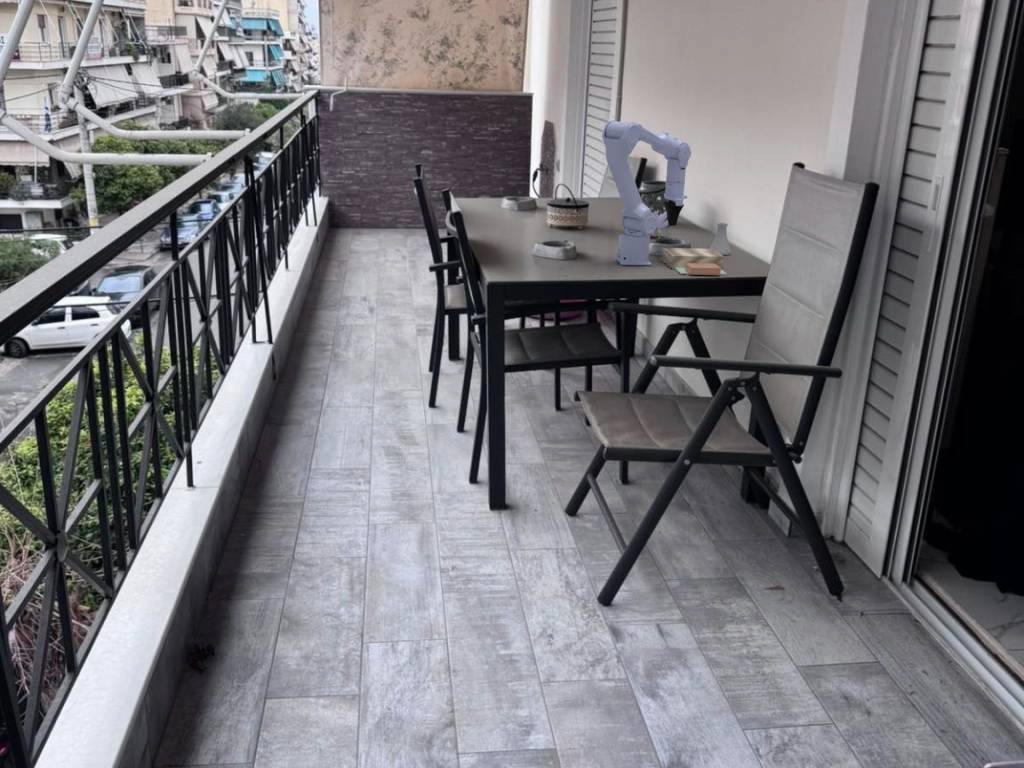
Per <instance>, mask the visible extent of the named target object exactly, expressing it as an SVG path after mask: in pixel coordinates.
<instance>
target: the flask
mask: <svg viewBox="0 0 1024 768" xmlns="http://www.w3.org/2000/svg"><path fill="white" fill-rule="evenodd" d="M716 223H717V222H716ZM716 225H717V230H716V233H715V236H714V238H713V241H712V243H711V244H710V247H709V248H708V249H714V250H716V251H717V252H718V253H720V254H721V255H723V256H729V255H732V251H731V248H730V244H729V239H728V235H727V227H728V225H729V223H726V222H718V223H717V224H716Z"/></svg>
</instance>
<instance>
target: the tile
mask: <svg viewBox="0 0 1024 768" xmlns="http://www.w3.org/2000/svg"><path fill="white" fill-rule="evenodd" d="M685 270H686V271H687V272H688V273H689V274H701V275H700V276H721V275H720V273H721V268H720V267H719V266H718V265H716V264H706V263H686V264H685Z"/></svg>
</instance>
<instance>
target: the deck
mask: <svg viewBox="0 0 1024 768" xmlns="http://www.w3.org/2000/svg"><path fill="white" fill-rule="evenodd" d="M724 261H725V255H721V254H720V253H718V252H717V251H716V250H714V249H709V248H698V247H697V248H691V247H690V248H689V247H687V248H686V247H685V248H684V247H663V248H662V255H661V262H663V263H664V264H665V263H666V264H667V265H668V266H669V267H670V268H674V267H679V268H685V264H686V263H706V264H716V265H718V266H719V267H720V268H721V269H722V270H723V271H724ZM666 264H665V265H666ZM667 265H666V266H667ZM668 266H667V267H668ZM669 267H668V268H669ZM670 268H669V269H670Z"/></svg>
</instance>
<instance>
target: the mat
mask: <svg viewBox="0 0 1024 768" xmlns="http://www.w3.org/2000/svg"><path fill="white" fill-rule="evenodd" d="M675 269H676V270H675ZM673 270H675V271H676V272H677V273H678V272H679V273H680V274H686V275H687V276H702V275H701V274H689V273H688V272H687V271H686V270H685V268H679V267H674V269H673ZM679 273H678V274H679ZM680 274H679V275H680ZM686 275H685V276H686ZM719 276H728V273H727V271H724V269H723V270H722V269H721V273H720V275H719Z"/></svg>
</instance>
